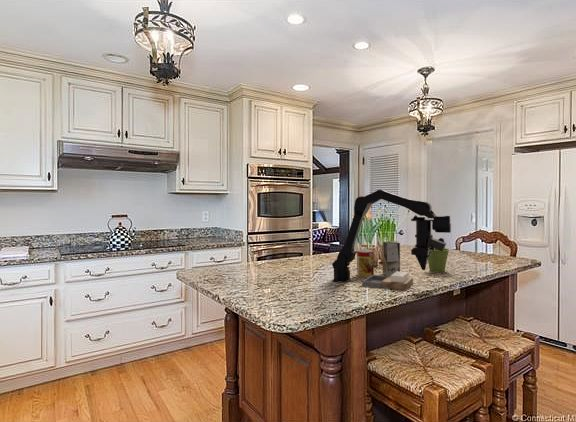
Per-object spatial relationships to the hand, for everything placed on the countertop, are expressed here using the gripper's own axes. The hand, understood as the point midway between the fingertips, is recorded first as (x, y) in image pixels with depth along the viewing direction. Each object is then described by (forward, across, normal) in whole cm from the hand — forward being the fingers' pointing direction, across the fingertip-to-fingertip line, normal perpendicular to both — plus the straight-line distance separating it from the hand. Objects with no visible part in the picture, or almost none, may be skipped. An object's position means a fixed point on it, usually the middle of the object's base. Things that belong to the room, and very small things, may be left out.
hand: (423, 269), depth 149 cm
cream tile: (+5, 0, +10) cm, 11 cm away
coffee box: (+8, +20, +19) cm, 29 cm away
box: (+8, 0, +19) cm, 21 cm away
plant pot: (+8, +40, +1) cm, 41 cm away
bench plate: (+8, 0, +11) cm, 13 cm away
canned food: (+8, +14, +30) cm, 34 cm away
